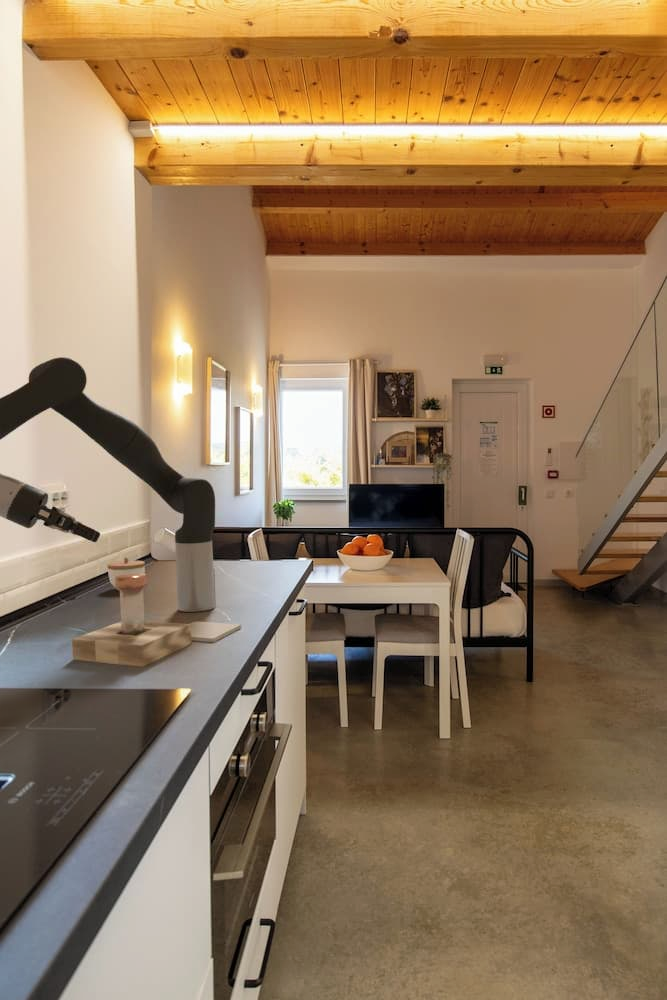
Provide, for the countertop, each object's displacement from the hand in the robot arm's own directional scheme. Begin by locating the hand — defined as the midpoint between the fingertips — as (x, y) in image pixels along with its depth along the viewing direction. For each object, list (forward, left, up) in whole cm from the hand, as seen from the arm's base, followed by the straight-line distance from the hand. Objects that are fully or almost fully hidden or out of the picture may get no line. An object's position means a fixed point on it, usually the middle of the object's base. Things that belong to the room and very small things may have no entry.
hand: (96, 537), depth 128 cm
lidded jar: (-59, -40, -23) cm, 75 cm away
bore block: (-3, +5, -23) cm, 24 cm away
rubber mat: (-19, +11, -23) cm, 32 cm away
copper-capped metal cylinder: (-3, +5, -23) cm, 24 cm away
